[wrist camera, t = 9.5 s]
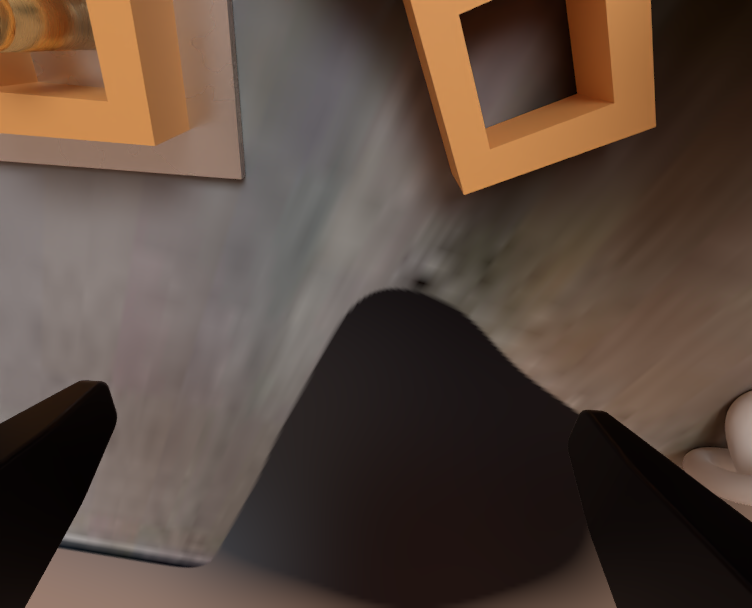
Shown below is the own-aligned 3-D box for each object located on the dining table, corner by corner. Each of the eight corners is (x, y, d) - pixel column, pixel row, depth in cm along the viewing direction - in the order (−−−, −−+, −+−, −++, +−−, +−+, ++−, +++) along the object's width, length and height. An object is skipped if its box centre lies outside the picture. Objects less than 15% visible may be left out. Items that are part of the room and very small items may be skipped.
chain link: (594, -94, 14) (645, -125, 11) (613, 113, 17) (656, 126, 14) (401, -6, 15) (406, -16, 12) (451, 172, 18) (464, 195, 15)
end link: (160, -95, 13) (107, -128, 11) (189, 129, 16) (155, 146, 14) (-59, -118, 13) (-168, -158, 10) (15, 115, 16) (-53, 128, 14)
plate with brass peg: (218, -167, 13) (115, -305, 8) (245, 175, 18) (193, 227, 13) (-135, -205, 12) (-488, -374, 7) (-5, 156, 18) (-159, 202, 12)
